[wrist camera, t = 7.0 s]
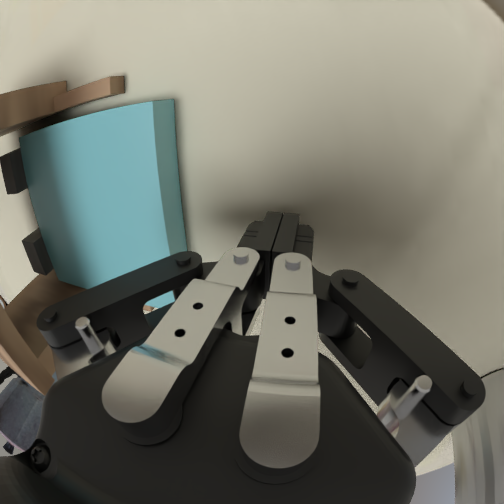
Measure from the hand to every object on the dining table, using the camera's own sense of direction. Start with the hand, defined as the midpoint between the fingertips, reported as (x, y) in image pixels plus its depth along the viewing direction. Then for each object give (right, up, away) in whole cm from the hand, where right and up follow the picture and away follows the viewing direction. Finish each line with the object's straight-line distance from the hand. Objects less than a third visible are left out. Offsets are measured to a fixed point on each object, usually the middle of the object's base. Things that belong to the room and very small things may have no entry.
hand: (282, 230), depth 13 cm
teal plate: (-11, +2, +3) cm, 12 cm away
